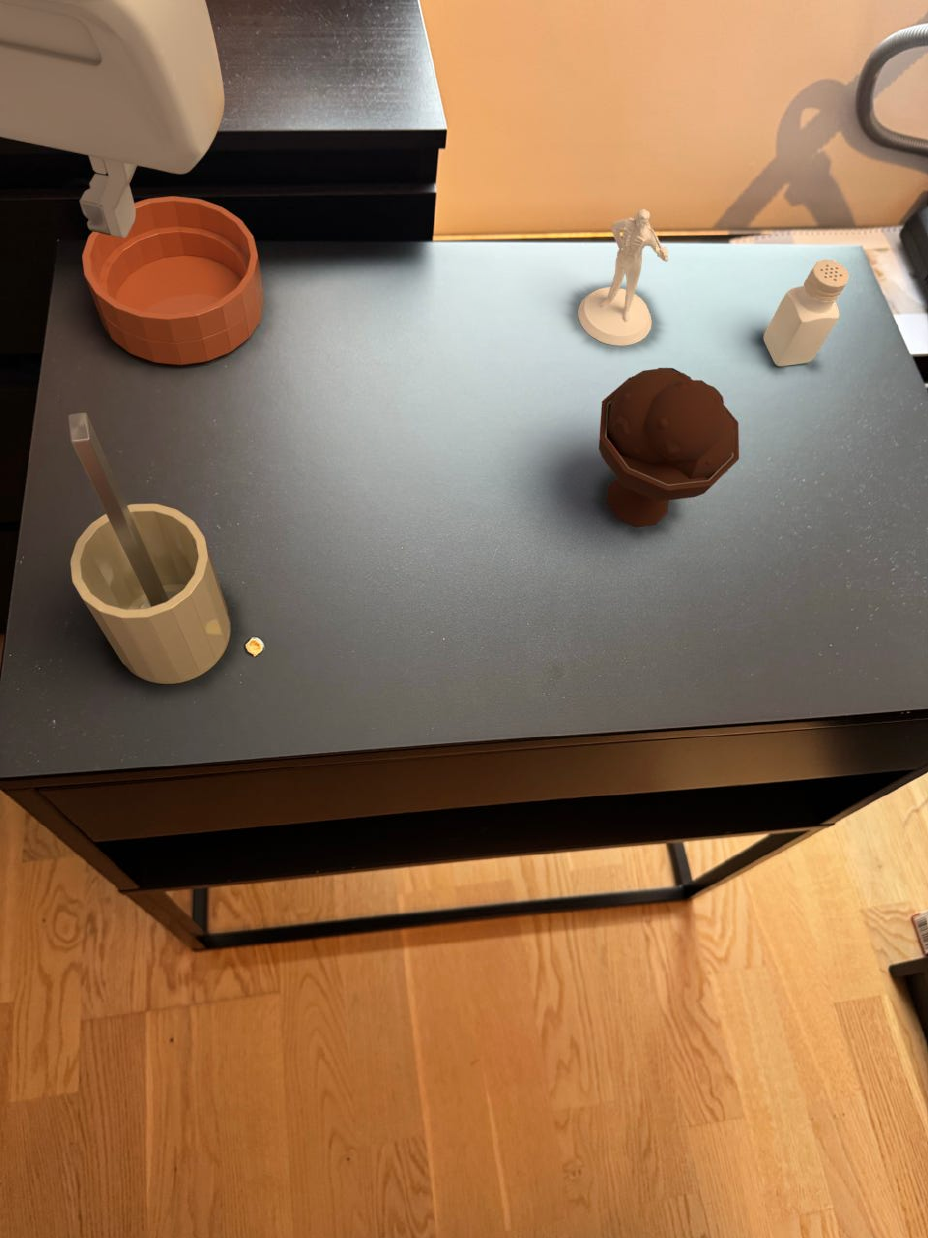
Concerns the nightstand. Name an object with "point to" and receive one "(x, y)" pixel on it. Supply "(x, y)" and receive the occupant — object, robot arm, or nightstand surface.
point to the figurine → (617, 309)
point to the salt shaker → (806, 315)
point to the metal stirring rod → (116, 508)
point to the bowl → (177, 281)
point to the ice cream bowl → (664, 442)
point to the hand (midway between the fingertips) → (8, 203)
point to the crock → (160, 635)
